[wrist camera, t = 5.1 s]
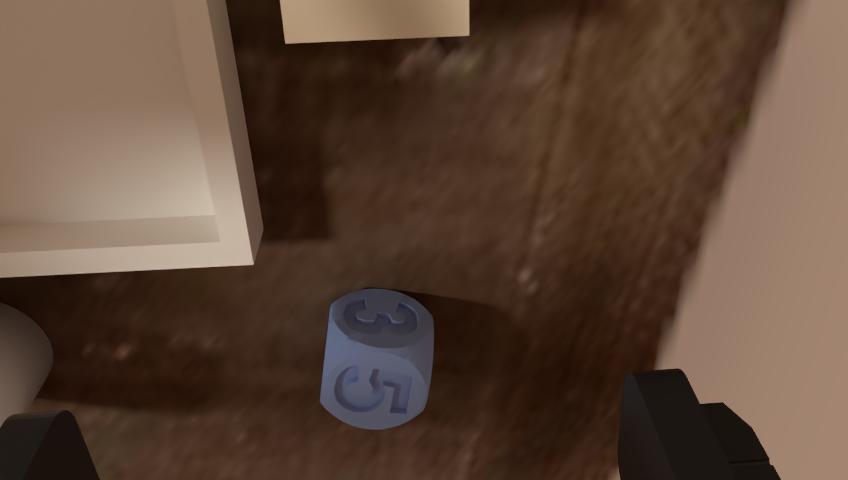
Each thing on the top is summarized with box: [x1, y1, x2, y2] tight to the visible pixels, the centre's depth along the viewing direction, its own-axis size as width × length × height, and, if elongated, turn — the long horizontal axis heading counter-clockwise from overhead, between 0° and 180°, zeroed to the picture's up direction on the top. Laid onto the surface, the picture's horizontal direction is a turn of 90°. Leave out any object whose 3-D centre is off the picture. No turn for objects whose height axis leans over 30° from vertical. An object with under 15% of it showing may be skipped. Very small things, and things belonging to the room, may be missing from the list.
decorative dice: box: [320, 289, 434, 430], centre depth 30 cm, size 4×4×4 cm
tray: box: [0, 0, 264, 278], centre depth 25 cm, size 14×14×2 cm
